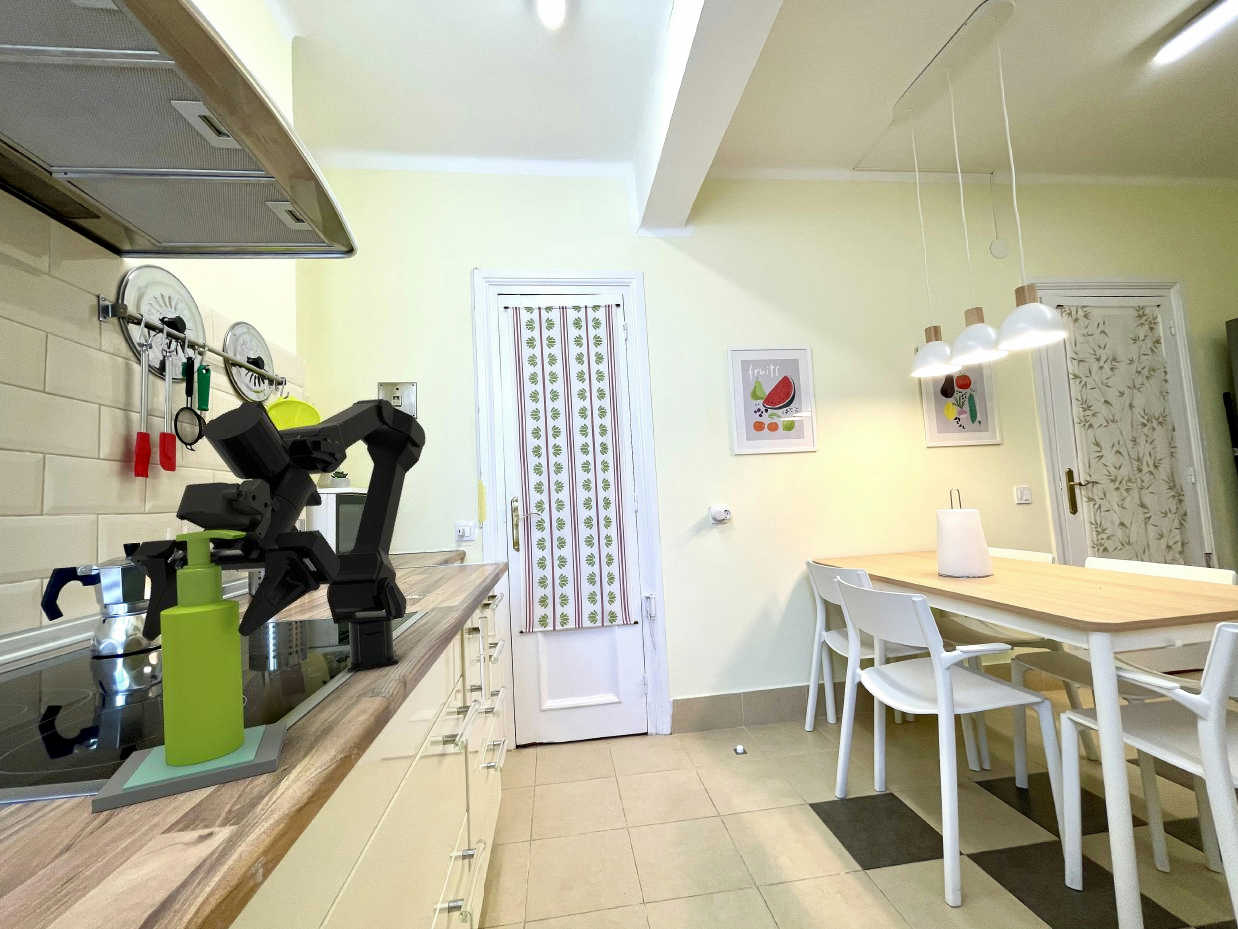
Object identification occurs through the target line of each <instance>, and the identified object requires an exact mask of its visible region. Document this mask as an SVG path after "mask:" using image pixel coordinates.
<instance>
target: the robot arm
mask: <svg viewBox="0 0 1238 929" xmlns="http://www.w3.org/2000/svg"><path fill="white" fill-rule="evenodd" d="M202 434H203V436H204V437H205V439H206V440H207V441H208V443H209V444H210V445H211V446H212V447H213V449H214V451H215V452H216V453H217V455H218V456H219V457H220V458H221V460H222V461H223V463H225V465H226V466H227V468H228V469H229V470H230V471H231V473H232V474H233V475H234V477H236V478H238V479H240V480H243V481H242V482H240V483H239V482H233V483H232V482H231V483H229V482H223V481H222V482H207V483H205V482H203V483H192V484H187V485H185V488H184V491H183V494H182V497H181V499H180V503H179V506H178V509H177V511H176V514H175V517H176V519H178V520H180V521H186V522H189V523H190V524H194V525H195V526H197V527H199V528H201V529H203V530H202V531H210V530H234V531H240V532H244V533H247V534H246V535H245V536H244V537H242V538H235V539H224V538H210V544H212V548H211V549H210V563H215V565H219V566H221V567H222V571H224V572H225V571H236V572H237V573H238V572H239V573H252V572H263V577H262V579H261V580H260V583H259V585H258V586H257V589H256V591H255V592H254V595H253V597H252V598H251V600H250V602H249V604H248V606H247V608H246V610H245V612H244V613H243V615H242V618H241V621H240V626H239V629H238V632H239V633H240V636H242V637H250V635H252V634H253V633H254V632H256V631H257V630H258V629H259V628H261V627H262V626H264V625H265V624H266V623H268V622H269V621H270V620H271V619H273V618H274V617H275V616H277V615H278V614H279V613H280V612H281V613H282V611H283V610H284V609H286V608H288V607H289V606H291V605H292V604H293V603H295V602H297V601H298V600H299V599H301V598H303V597H304V596H306V595H307V594H309V593H310V592H314V591H315V592H316V591H318V590H319V589H320V588H321V586H322V585H328V586H327V589H326V599H327V600H326V601H327V602H328V607H329V609H330V614H331V618H332V621H333V624H334V625H339V624H345V623H346V624H348V631H349V632H348V633H349V650H350V652H349V653H350V655H349V656H350V657H347V671H348V670H350V671H349V672H353V671H359V670H360V671H361V670H364V669H371V668H377V667H381V666H388V665H392V664H398V663H399V657H398V654H397V651H396V650H394V636H393V633H394V632H393V631H394V630H393V621H395V620H399V619H403V618H405V615H406V612H407V602H408V601H407V598H406V596H405V595H404V594H403V592H402V590H401V589H400V586H398V584H397V582H396V581H397V572H396V569H395V567H394V565H393V563H392V561H391V558H390V557H389V556H390V550H391V544H392V540H393V535H394V531H395V525H396V521H397V515H398V511H399V507H400V501H401V498H402V492H403V487H404V482H405V479H406V478H405V477H406V474H407V473H408V472H409V471H410V470H411V469H412V468H413V467H414V466H416V464H417V463H418V462H419V461H420V458H421V454H422V451H423V448H424V446H425V445H426V439H427V438H426V433H425V430H424V427H423V426H422V425H421V424H420V423H419V421H418V420H417V419H416V418H415V416H413V415H412V414H409V413H408V412H405V411H403V410H401V409H399V408H398V407H397V408H396V407H395V406H394V405H393V404H392V402H390V401H389V399H386V400H385V399H384V398H377V399H364V400H363V399H361V400H358V401H356V402H354V403H352V405H351V406H349V407H347V408H346V409H343V410H342V411H339V412H338V413H335V414H334V415H332V416H330V417H327V418H326V419H324V420H322V421H321V422H319V423H316V424H311V425H305V426H304V425H303V426H297V427H289V428H284V429H278V427H277V426H276V424H275V422H274V421H273V420H272V418H271V417H270V414H269V413H268V410H267V408H266V406H265V405H264V404H263V402H262V401H261V400H255V401H254V400H253V401H243V402H242V403H241V404H240V405H239V407H237V408H234V409H230V410H228V411H226V412H224V413H221V414H220V415H218V416H217V417H215V418H213V419H211V420H209V421H208V422H207V423H206V424H205V425H204V428H203V431H202ZM359 441H361V442H363V444H364V445H365V446H366V450H367V451H366V452H367V454H369V457H370V460H371V462H372V464H373V467H372V471H371V475H370V479H369V483H368V487H367V490H366V496H365V499H364V504H363V507H362V511H361V515H360V519H359V520H360V521H359V524H358V528H357V532H356V536H355V539H354V544H353V547H352V549H351V550H350V551H349V552H348V553H342V554H336V553H335V551H334V549H333V547H332V546H331V545H330V543H329V542H328V541H327V539H326V538H325V536H324V535H323V534H322V532H321V531H320V530H319V529H316V530H315V529H314V530H303V531H302V530H301V531H300V529H298V528H297V526H296V523H297V522H298V520H299V517H300V516H301V515H302V512H303V510H304V508H305V507H307V508H308V507H320V506H322V502H323V501H322V496H321V494H320V492H319V491H318V486H317V484H316V483H315V481H314V480H313V477H311V476H312V475H322V474H323V475H324V474H332V473H335V472H336V471H337V469H339V467H341V465H342V464H343V462H345V461H346V460H347V457H348V455H347V452H346V451H347V449H348V448H350V447H351V446H353V445H354V444H356V443H357V442H359ZM129 561H130V562H131V563H132V564H134V565H135V566H136V568H138V570H140V571H141V572H142V573H143V574H144V575H145V576H146V577H147V578H149V580H150V591H149V592H150V593H149V599H148V605H147V609H146V615H145V618H144V623H143V628H142V633H141V636H142V637H143V638H144V639H145V641H147V642H154V641H155V640H156V639H157V638H159V636H161V617H160V613H161V612H162V611H164V610H166V609H169V608H172V607H175V606H178V597H177V571H178V570H180V569H183V566H187V565H188V552H187V540H185V541H176V538H175V539H162V540H160V539H159V540H151V541H150V540H148V541H143V542H142V543H141V544H140V545H139V547H137V549H136V550H135V551H134V552H133V554H132V555H131V557H130V559H129Z"/></svg>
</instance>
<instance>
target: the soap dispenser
mask: <svg viewBox="0 0 1238 929" xmlns="http://www.w3.org/2000/svg"><path fill="white" fill-rule="evenodd" d="M246 534H247V533H244V532H240V531H234V530H210V531H203V530H201V531H194V532H193V531H192V532H187V533H186V532H185V533H181V534H180V533H179V534H175V539H176V541H185V540H186V541H187V552H188V565H187V566H183V569H180V570H178V571H177V597H178V606H175V607H172V608H169V609H166V610H164V611H162V612H161V613H160V617H161V635H160V639H161V641H160V642H161V644H160V646H161V668H162V669H161V670H162V674H161V675H162V695H163V696H162V698H163V699H162V700H163V701H162V702H163V727H164V728H163V729H164V731H163V732H164V735H163V736H164V745H165V762H166V763H167V764H168V765H171V766H187V765H194V764H199V763H203V762H207V761H210V760H214V759H217V758H220V757H222V756H225V755H227V754H229V753H231V752H233V751H235V750H237V749H238V748H240V747H241V746H242V745H243V743H244V729H245V726H244V725H245V724H244V722H245V721H244V720H245V718H244V702H243V701H244V699H243V695H244V692H243V675H242V674H243V673H242V672H243V671H242V648H241V646H242V645H241V643H242V642H241V634H240V633H239V632H238V629H239V626H240V623H241V621H240V620H241V619H240V601H238V600H234V599H225V598H224V599H223V596H224V595H223V594H224V592H223V572H222V567H221V566H219V565H215V563H210V548H211V543H210V538H224V539H235V538H242V537H244V536H245V535H246Z"/></svg>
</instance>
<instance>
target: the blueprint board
mask: <svg viewBox="0 0 1238 929" xmlns="http://www.w3.org/2000/svg"><path fill="white" fill-rule="evenodd" d="M287 727H288V726H287V720H285V721H280V722H276V723H270V724H263V725H258V726H252V727H248V728H244V743H243V745H242V746H241V747H240V748H238V749H237V750H235V751H233V752H231V753H229V754H227V755H225V756H222V757H220V758H217V759H214V760H210V761H207V762H203V763H199V764H194V765H187V766H171V765H168V764H167V763H166V762H165V744H163V745H160V746H159V745H158V746H154V747H151V748H145V749H140V750H135V751H133V752H132V753H131V754H130V755H129V757H127V758H126V760H125V761H124V762H123V763H122V764H121V766H120V767H119V768H118V769H117V770H116V771H115V772H114V774H113V775H112V776H111V777H110V778H109V780H108V781H107V782H106V783H105V784H104V785H103V786H102V787H101V788H100V790H99V791H98V792H97V793H96V794H95V796H94V797H93V798H92V799H91V813H92V814H93V813H98V812H103V811H106V810H107V811H108V810H111V809H116V808H120V807H124V806H128V805H133V804H138V803H142V802H145V801H146V802H147V801H150V800H155V799H159V798H164V797H168V796H171V795H177V794H181V793H185V792H189V791H190V792H191V791H195V790H198V789H202V788H206V787H207V788H208V787H210V786H215V785H220V784H224V783H229V782H233V781H236V780H241V779H246V778H250V777H254V776H259V775H262V774H266V773H267V774H268V773H271V772H275V771H277V770H278V766H279V762H280V760H281V758H280V757H281V755H282V751H283V746H284V744H285V740H286V735H287V732H288V728H287Z"/></svg>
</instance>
